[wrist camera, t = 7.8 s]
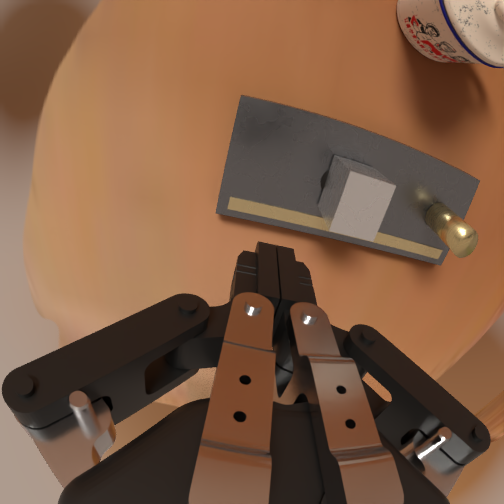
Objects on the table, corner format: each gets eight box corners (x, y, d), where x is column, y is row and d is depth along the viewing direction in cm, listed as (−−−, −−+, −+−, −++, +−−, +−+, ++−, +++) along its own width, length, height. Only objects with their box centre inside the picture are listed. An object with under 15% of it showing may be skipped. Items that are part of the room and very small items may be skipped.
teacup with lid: (379, 30, 21) (449, 11, 11) (407, -33, 16) (474, -67, 6) (471, 97, 23) (550, 119, 13) (494, 35, 19) (569, 39, 9)
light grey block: (374, 167, 26) (396, 185, 22) (356, 216, 28) (373, 241, 24) (334, 155, 25) (350, 170, 21) (317, 206, 28) (329, 230, 24)
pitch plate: (472, 176, 27) (513, 202, 21) (435, 258, 33) (464, 296, 26) (241, 94, 25) (236, 98, 18) (217, 207, 30) (206, 245, 24)
